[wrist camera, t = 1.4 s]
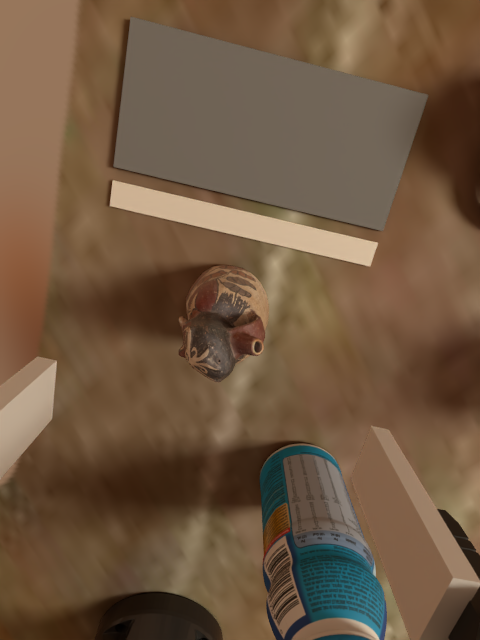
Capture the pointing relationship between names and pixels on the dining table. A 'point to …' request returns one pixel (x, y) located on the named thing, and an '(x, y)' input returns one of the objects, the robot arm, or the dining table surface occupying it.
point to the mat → (263, 125)
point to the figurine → (223, 320)
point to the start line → (241, 223)
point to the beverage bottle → (316, 552)
